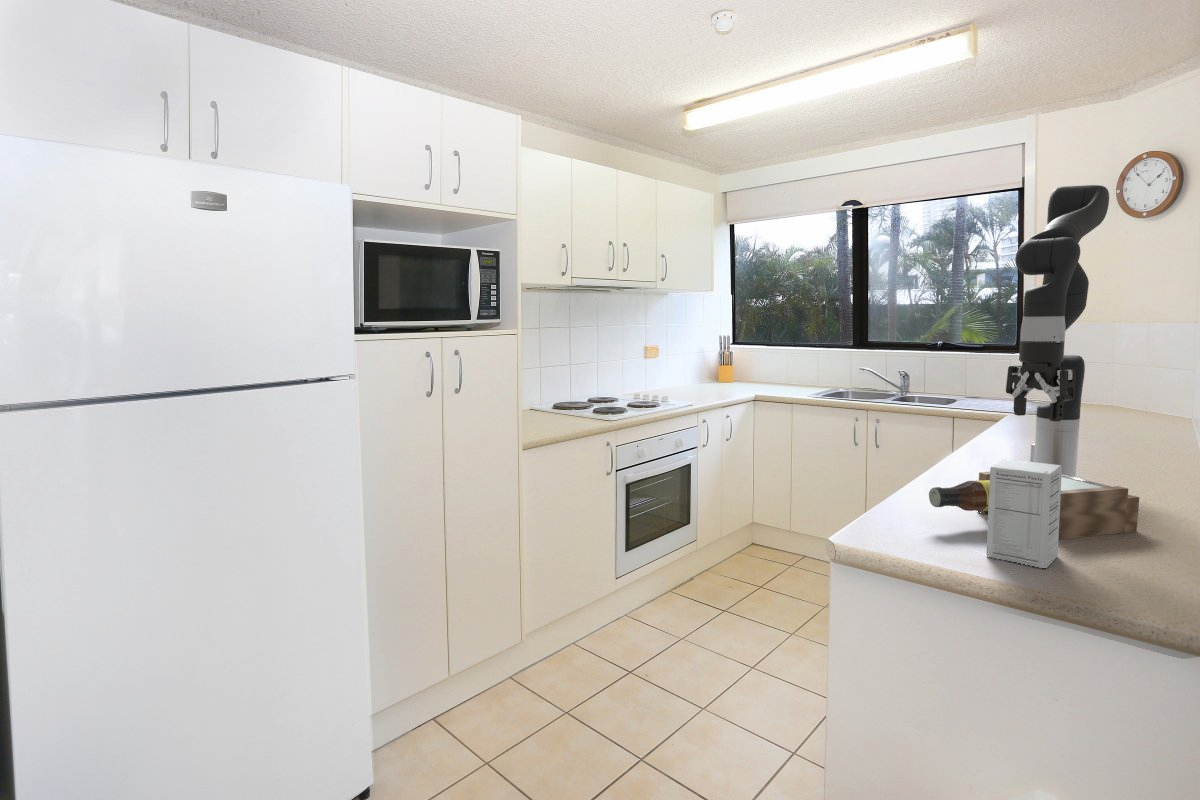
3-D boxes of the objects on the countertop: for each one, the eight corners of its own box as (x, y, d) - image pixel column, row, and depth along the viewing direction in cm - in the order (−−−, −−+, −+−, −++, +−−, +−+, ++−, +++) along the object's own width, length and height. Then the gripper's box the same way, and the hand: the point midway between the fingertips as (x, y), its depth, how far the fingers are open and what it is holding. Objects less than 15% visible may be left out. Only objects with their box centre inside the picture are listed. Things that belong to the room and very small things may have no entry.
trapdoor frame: (1051, 505, 150) (1054, 467, 149) (1136, 531, 132) (1140, 487, 131) (977, 512, 146) (979, 472, 145) (1053, 539, 128) (1056, 494, 126)
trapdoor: (1055, 476, 146) (1053, 470, 146) (1116, 491, 133) (1114, 485, 133) (993, 507, 144) (992, 501, 144) (1049, 526, 130) (1047, 519, 130)
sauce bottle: (1021, 473, 138) (932, 473, 135) (1040, 493, 132) (948, 493, 130) (1007, 496, 141) (921, 496, 139) (1025, 517, 136) (936, 517, 134)
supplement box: (1059, 556, 118) (1065, 464, 117) (1046, 570, 112) (1053, 473, 110) (999, 544, 125) (1003, 457, 123) (984, 557, 119) (989, 465, 117)
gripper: (998, 338, 140) (994, 414, 141) (1057, 340, 126) (1052, 424, 128) (1028, 338, 141) (1023, 412, 143) (1090, 339, 127) (1084, 422, 129)
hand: (1037, 418), depth 135 cm, fingers open, 8 cm apart
